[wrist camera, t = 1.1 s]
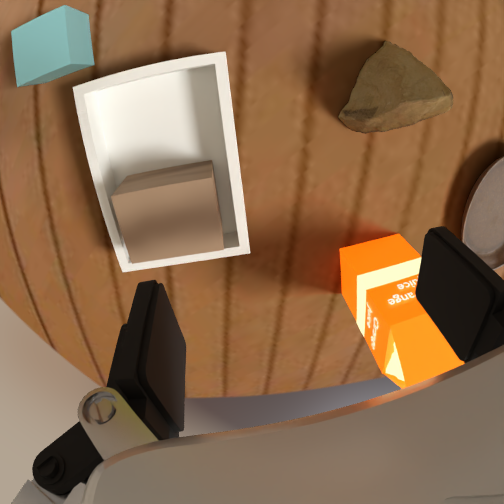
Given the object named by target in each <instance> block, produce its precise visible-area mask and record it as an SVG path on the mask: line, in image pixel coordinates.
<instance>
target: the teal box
mask: <svg viewBox="0 0 504 504" xmlns="http://www.w3.org/2000/svg"><path fill="white" fill-rule="evenodd" d="M11 34H12V47H13V58H14V67H15V74H16V82H17V87H21V86H27V85H34V84H42V83H47V82H50V81H52V80H54V79H57V78H60V77H62V76H65V75H67V74H70V73H73V72H75V71H78V70H81V69H84V68H87V67H90V66H93V65H94V59H93V51H92V43H91V35H90V25H89V15H88V14H86V13H83V12H81V11H79V10H76V9H74V8H71V7H69V6H66V5H64V6H61V7H59V8H57V9H54V10H52V11H50V12H48V13H46V14H43V15H41V16H39V17H37V18H35V19H33V20H31V21H29V22H27V23H25V24H24V25H22V26H20V27H18V28H16V29H14V30H13V31H11Z"/></svg>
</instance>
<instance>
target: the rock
mask: <svg viewBox="0 0 504 504" xmlns="http://www.w3.org/2000/svg"><path fill="white" fill-rule="evenodd" d="M452 105H453V94H452V92H451V90H450V89H449V88H448V87H447V86H446V85H445V84H444V83H443V82H442V80H441V79H440V78H439V77H438V76H437V75H436V74H435V73H434V72H433V71H432V70H431V69H430V68H428V67H427V66H425V65H424V64H423V63H422V62H421V61H419V60H418V59H417V58H415V57H414V56H413V55H412V53H410V52H409V51H407V50H405V49H403V48H400V47H399V46H397V45H396V44H392V43H391V42H387V41H385V42H384V45H383V47H381V48H380V49H379V50H378V51H377V52H376V53H374V54H373V55H372V56H371V57H370V58H369V59H367V60H366V63H365V65H364V66H363V68H362V69H361V71H360V73H359V76H358V78H357V83H356V85H355V87H354V88H353V90H352V93H351V96H350V100H349V102H348V103H347V104H346V106H345V107H344V108H343V109H342V110H341V112H340V114H339V119H340V120H341V121H342V122H343V123H344V124H345V125H346V126H347V127H348V128H349V129H351V130H353V131H356V132H361V133H370V132H377V131H379V132H385V131H389V130H392V129H396V128H401V127H406V126H410V125H413V124H415V123H417V122H418V121H421V120H425V119H428V118H431V117H434V116H437V115H439V114H443V113H445V112H447V111H448V110H450V109H451V108H452Z"/></svg>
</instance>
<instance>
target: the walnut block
mask: <svg viewBox="0 0 504 504" xmlns="http://www.w3.org/2000/svg"><path fill="white" fill-rule="evenodd" d="M111 199H112V203H113V206H114V210H115V213H116V216H117V220H118V223H119V226H120V229H121V233H122V236H123V239H124V242H125V245H126V248H127V251H128V254H129V257H130V260H131V263H132V264H134V263H141V262H147V261H154V260H161V259H167V258H174V257H180V256H187V255H194V254H200V253H207V252H214V251H220V250H224V244H223V230H222V219H221V213H220V207H219V201H218V195H217V188H216V182H215V175H214V169H213V162H212V160H209V161H202V162H196V163H190V164H184V165H179V166H173V167H168V168H163V169H157V170H152V171H147V172H142V173H138V174H133V175H128V176H126V178H125V179H124V180H123V181H122V183H121V184H120V185H119V186H118V188H117V189H116V190H115V192H114V193H113V194H112V195H111Z"/></svg>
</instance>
